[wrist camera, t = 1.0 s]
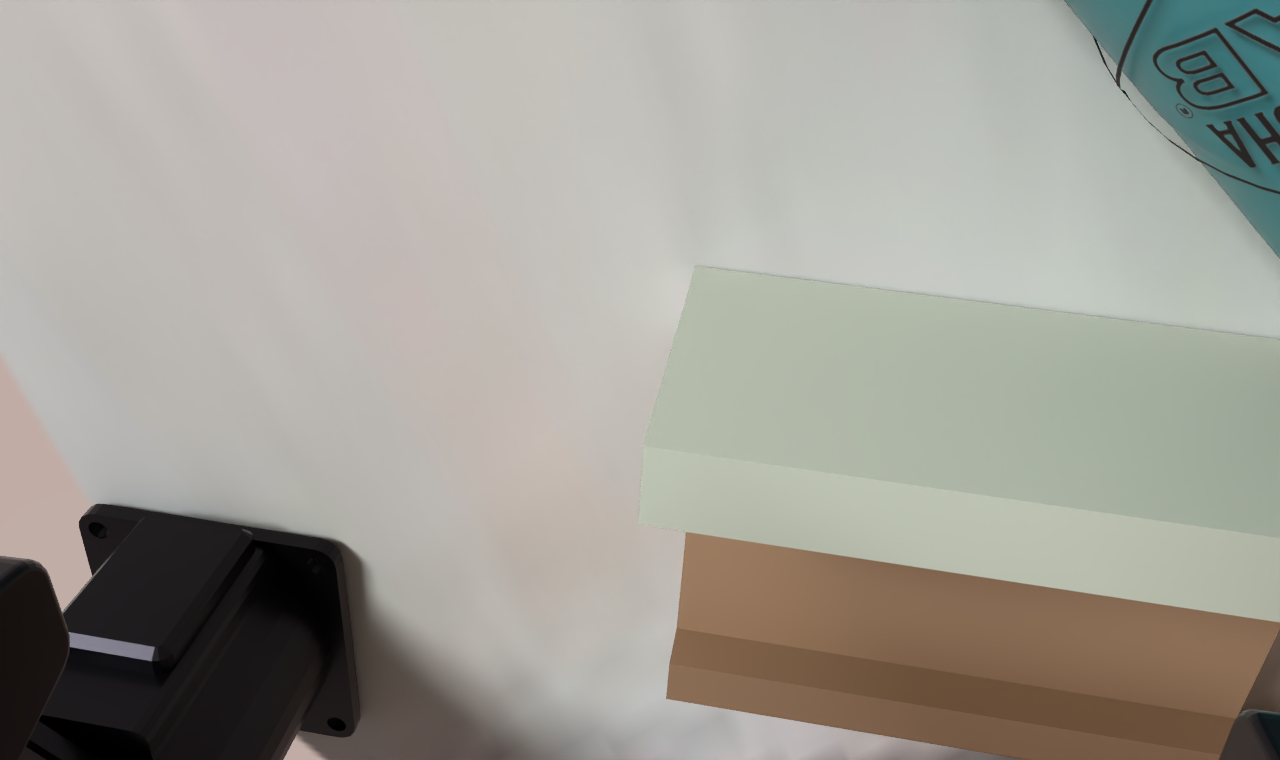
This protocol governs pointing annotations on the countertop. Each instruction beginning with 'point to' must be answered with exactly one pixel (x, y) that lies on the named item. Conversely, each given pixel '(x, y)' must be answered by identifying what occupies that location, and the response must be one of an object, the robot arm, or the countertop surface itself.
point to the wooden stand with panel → (967, 518)
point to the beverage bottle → (1207, 85)
